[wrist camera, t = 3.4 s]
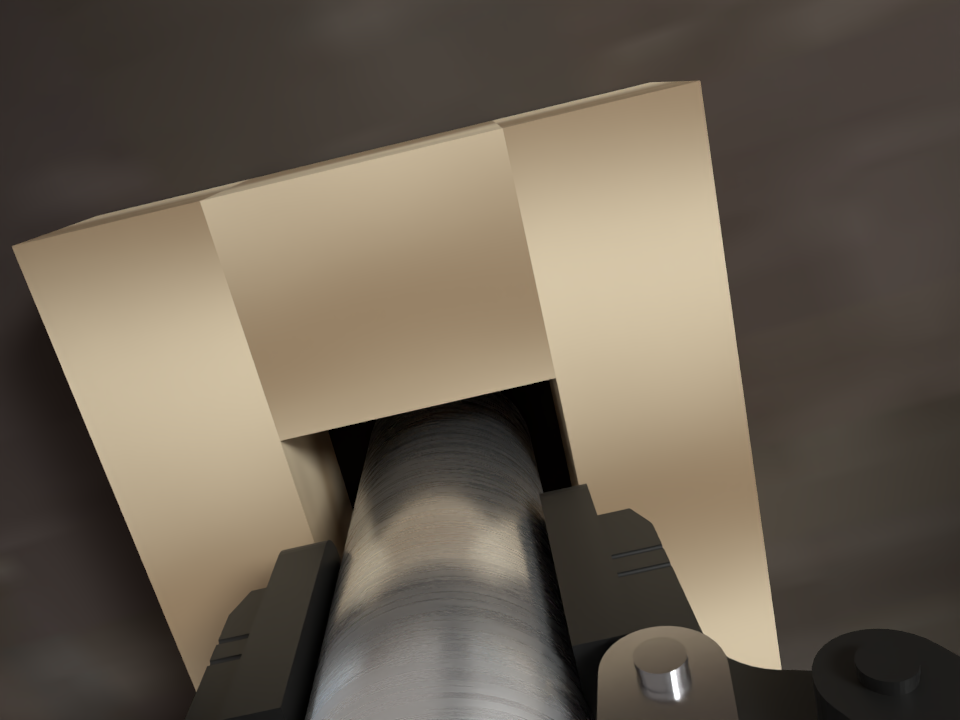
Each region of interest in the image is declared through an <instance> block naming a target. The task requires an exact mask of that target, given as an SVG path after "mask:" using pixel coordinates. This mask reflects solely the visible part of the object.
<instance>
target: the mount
mask: <svg viewBox="0 0 960 720" xmlns="http://www.w3.org/2000/svg"><path fill="white" fill-rule="evenodd" d="M12 248H13V251H14V253H15V255H16V258H17V260H18V263H19V265H20V268H21V270H22V272H23V275H24V277H25V280H26V282H27V284H28V287H29V289H30V292H31V294H32V297H33V299H34V301H35V304H36V306H37V309H38V311H39V313H40V316H41V318H42V321H43V323H44V325H45V328H46V330H47V333H48V335H49V338H50V340H51V342H52V345H53V347H54V350H55V352H56V354H57V357H58V359H59V362H60V364H61V367H62V369H63V371H64V374H65V376H66V379H67V381H68V383H69V386H70V388H71V391H72V393H73V395H74V398H75V400H76V403H77V405H78V408H79V410H80V412H81V415H82V417H83V420H84V422H85V424H86V427H87V429H88V432H89V434H90V437H91V439H92V441H93V444H94V446H95V449H96V451H97V453H98V456H99V458H100V461H101V463H102V465H103V468H104V470H105V473H106V475H107V478H108V480H109V482H110V485H111V487H112V490H113V492H114V494H115V497H116V499H117V502H118V504H119V507H120V509H121V511H122V514H123V516H124V519H125V521H126V523H127V526H128V528H129V531H130V533H131V536H132V538H133V540H134V543H135V545H136V548H137V550H138V552H139V555H140V557H141V560H142V562H143V564H144V567H145V569H146V572H147V574H148V577H149V579H150V581H151V584H152V586H153V589H154V591H155V593H156V596H157V598H158V601H159V603H160V606H161V608H162V610H163V613H164V615H165V618H166V620H167V622H168V625H169V627H170V630H171V632H172V634H173V637H174V639H175V642H176V644H177V647H178V649H179V651H180V654H181V656H182V659H183V661H184V663H185V666H186V668H187V671H188V673H189V676H190V678H191V680H192V683H193V685H194V688H195V690H196V692H197V689H198V687H199V685H200V682H201V680H202V677H203V675H204V673H205V670H206V668H207V666H210V658H211V656H212V654H213V651H214V649H215V647H216V645H219V641H218V639H219V637H220V635H221V632H222V630H223V628H224V625H225V623H226V620H227V618H228V616H229V614H230V613H231V612H232V611H233V610H234V609H235V608H236V607H237V606H238V605H239V604H240V603H241V601H242V600H243V599H244V598H245V597H246V596H247V595H248V594H249V593H250V592H251V591H253V590H257V589H262V588H266V587H267V585H268V582H269V580H270V577H271V574H272V571H273V569H274V566H275V563H276V561H277V558H278V555H279V553H280V552H281V551H282V550H286V549H290V548H295V547H299V546H304V545H308V544H313V543H317V542H322V541H326V540H331V541H332V542H333V543H334V545H335V546H336V548H337V551H338V553H339V556H340V559H341V561H342V557H343V553H344V548H345V544H346V540H347V535H348V531H349V527H350V522H351V518H352V514H353V509H352V506H351V502H350V499H349V496H348V493H347V490H346V486H345V483H344V480H343V477H342V474H341V470H340V467H339V464H338V461H337V458H336V455H335V451H334V448H333V445H332V442H331V439H330V435H329V432H328V430H330V429H334V428H339V427H343V426H347V425H352V424H356V423H361V422H365V421H369V420H374V419H378V418H383V417H387V416H391V415H396V414H400V413H405V412H409V411H413V410H418V409H422V408H426V407H431V406H435V405H440V404H444V403H448V402H453V401H457V400H462V399H466V398H470V397H475V396H479V395H484V394H488V393H492V392H497V391H501V390H506V389H510V388H514V387H519V386H523V385H527V384H532V383H536V382H541V381H545V380H549V383H550V388H551V392H552V397H553V402H554V406H555V411H556V416H557V420H558V425H559V429H560V434H561V439H562V443H563V448H564V452H565V457H566V462H567V466H568V471H569V475H570V480H571V485H572V486H577V485H581V484H587V486H588V489H589V492H590V495H591V498H592V501H593V503H594V506H595V509H596V512H597V515H601V514H605V513H610V512H615V511H619V510H624V509H628V508H630V509H632V510H633V511H635V512H636V513H638V514H639V515H641V516H642V517H644V518H645V519H647V520H648V521H650V522H651V523H652V524H653V526H654V528H655V530H656V532H657V534H658V537H659V539H660V541H661V543H662V547H663V548H664V550H665V552H666V554H667V556H668V558H669V561H670V564H671V566H672V567H673V569H674V571H675V574H676V576H677V578H678V580H679V582H680V584H681V587H682V589H683V591H684V593H685V595H686V597H687V600H688V602H689V604H690V606H691V608H692V610H693V613H694V615H695V617H696V619H697V621H698V624H699V626H700V628H701V630H702V632H703V634H705V635H707V636H708V637H710V638H711V639H713V640H714V641H715V642H716V643H717V644H718V645H719V646H720V647H721V648H722V650H723V651H724V653H725V654H726V656H727V657H729V658H731V659H733V660H736V661H738V662H740V663H743V664H747V665H750V666H754V667H759V668H764V669H776V670H781V663H780V656H779V648H778V641H777V634H776V627H775V619H774V612H773V605H772V598H771V590H770V583H769V576H768V569H767V561H766V554H765V547H764V540H763V532H762V525H761V518H760V511H759V503H758V496H757V489H756V482H755V474H754V467H753V460H752V453H751V445H750V438H749V431H748V424H747V416H746V409H745V402H744V395H743V387H742V380H741V373H740V366H739V358H738V351H737V344H736V337H735V329H734V322H733V315H732V308H731V300H730V293H729V286H728V279H727V271H726V264H725V257H724V250H723V242H722V235H721V228H720V221H719V213H718V206H717V199H716V192H715V184H714V177H713V170H712V163H711V155H710V148H709V141H708V134H707V126H706V119H705V112H704V105H703V97H702V90H701V83H700V81H679V82H651V83H646V84H642V85H638V86H634V87H630V88H626V89H622V90H617V91H613V92H609V93H605V94H601V95H597V96H593V97H588V98H584V99H580V100H576V101H572V102H568V103H564V104H559V105H555V106H551V107H547V108H543V109H539V110H534V111H530V112H526V113H522V114H518V115H514V116H510V117H505V118H501V119H497V120H493V121H489V122H485V123H481V124H476V125H472V126H468V127H464V128H460V129H456V130H452V131H447V132H443V133H439V134H435V135H431V136H427V137H422V138H418V139H414V140H410V141H406V142H402V143H398V144H393V145H389V146H385V147H381V148H377V149H373V150H369V151H364V152H360V153H356V154H352V155H348V156H344V157H340V158H335V159H331V160H327V161H323V162H319V163H315V164H310V165H306V166H302V167H298V168H294V169H290V170H286V171H281V172H277V173H273V174H269V175H265V176H261V177H257V178H252V179H248V180H244V181H240V182H236V183H232V184H228V185H223V186H219V187H215V188H211V189H207V190H203V191H199V192H194V193H190V194H186V195H182V196H178V197H174V198H169V199H165V200H161V201H157V202H153V203H149V204H145V205H140V206H136V207H132V208H128V209H124V210H120V211H116V212H111V213H107V214H103V215H99V216H96V217H93V218H90V219H87V220H84V221H82V222H79V223H76V224H73V225H70V226H68V227H65V228H62V229H59V230H56V231H53V232H51V233H48V234H45V235H42V236H39V237H37V238H34V239H31V240H28V241H25V242H23V243H20V244H17V245H14V246H12Z"/></svg>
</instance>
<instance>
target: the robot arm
mask: <svg viewBox="0 0 960 720" xmlns="http://www.w3.org/2000/svg"><path fill="white" fill-rule="evenodd" d="M539 496H540V500H541V505H542V510H543V514H544V519H545V523H546V528H547V533H548V537H549V542H550V547H551V551H552V556H553V561H554V565H555V570H556V575H557V579H558V584H559V589H560V593H561V598H562V602H563V607H564V612H565V616H566V621H567V626H568V630H569V635H570V640H571V644H572V649H573V653H574V657H575V662H576V666H577V670H578V675H579V679H580V683H581V688H582V692H583V696H584V699H585V701H586V703H587V705H588V707H589V709H590V711H591V713H592V715H593V719H594V720H960V657H959V656H958V655H956V654H954V653H952V652H950V651H949V650H947V649H945V648H943V647H942V646H940V645H938V644H936V643H934V642H932V641H930V640H928V639H926V638H923V637H920V636H917V635H915V634H911V633H907V632H903V631H896V630H889V629H867V630H859V631H854V632H850V633H847V634H844V635H841V636H839V637H837V638H835V639H832V640H831V641H830V642H828V643H827V644H825V645H824V646H823V647H822V648H821V649H820V650H819V652H818V653H817V655H816V657H815V658H814V662H813V665H812V671H803V670H776V669H764V668H759V667H754V666H750V665H747V664H743V663H740V662H738V661H736V660H733V659H731V658H729V657H727V656H726V654H725V653H724V651H723V650H722V648H721V647H720V646H719V645H718V644H717V643H716V642H715V641H714V640H713V639H711V638H710V637H708V636H707V635H705V634H703V632H702V630H701V628H700V626H699V624H698V621H697V619H696V617H695V615H694V613H693V610H692V608H691V606H690V604H689V602H688V600H687V597H686V595H685V593H684V591H683V589H682V587H681V584H680V582H679V580H678V578H677V576H676V574H675V571H674V569H673V567H672V566H671V564H670V561H669V558H668V556H667V554H666V552H665V550H664V548H663V547H662V543H661V541H660V539H659V537H658V534H657V532H656V530H655V528H654V526H653V524H652V523H651V522H650V521H648V520H647V519H645V518H644V517H642V516H641V515H639V514H638V513H636V512H635V511H633V510H632V509H630V508H628V509H624V510H619V511H615V512H610V513H605V514H601V515H597V512H596V509H595V506H594V503H593V501H592V498H591V495H590V492H589V489H588V486H587V484H581V485H577V486H572V487H568V488H563V489H559V490H554V491H550V492H545V493H540V494H539ZM340 566H341V559H340V556H339V553H338V551H337V548H336V546H335V545H334V543H333V542H332V541H331V540H326V541H322V542H317V543H313V544H308V545H304V546H299V547H295V548H290V549H286V550H282V551H281V552H280V553H279V555H278V558H277V561H276V563H275V566H274V569H273V571H272V574H271V577H270V580H269V582H268V585H267V587H266V588H262V589H257V590H253V591H251V592H250V593H249V594H248V595H247V596H246V597H245V598H244V599H243V600H242V601H241V603H240V604H239V605H238V606H237V607H236V608H235V609H234V610H233V611H232V612H231V613H230V614H229V616H228V618H227V620H226V623H225V625H224V628H223V630H222V632H221V635H220V637H219V639H218V641H219V645H216V647H215V649H214V651H213V654H212V656H211V658H210V666H207V668H206V670H205V673H204V675H203V677H202V680H201V682H200V685H199V687H198V689H197V692H196V694H195V696H194V699H193V701H192V704H191V706H190V708H189V711H188V713H187V715H186V718H185V720H305V716H306V712H307V708H308V704H309V699H310V695H311V691H312V686H313V682H314V678H315V673H316V669H317V665H318V660H319V656H320V652H321V647H322V643H323V639H324V635H325V630H326V626H327V622H328V617H329V613H330V609H331V604H332V600H333V596H334V591H335V587H336V583H337V579H338V574H339V570H340Z"/></svg>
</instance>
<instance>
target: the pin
mask: <svg viewBox="0 0 960 720" xmlns="http://www.w3.org/2000/svg"><path fill="white" fill-rule="evenodd" d="M540 493H543V490H542V485H541V481H540V476H539V472H538V468H537V463H536V459H535V454H534V450H533V446H532V441H531V437H530V433H529V430H528V427H527V424H526V422H525V420H524V418H523V416H522V415H521V413H520V411H519V410H518V408H517V407H516V406H515V405H514V404H513V403H512V402H511V400H509V399H508V398H507V397H506V396H505V395H504V394H502V393H501V392H499V391H497V392H492V393H488V394H484V395H479V396H475V397H470V398H466V399H462V400H457V401H453V402H448V403H444V404H440V405H435V406H431V407H426V408H422V409H418V410H413V411H409V412H405V413H400V414H396V415H391V416H387V417H383V418H378V419H377V420H376V422H375V424H374V427H373V429H372V432H371V436H370V441H369V445H368V449H367V453H366V458H365V462H364V466H363V471H362V475H361V479H360V484H359V488H358V492H357V497H356V501H355V505H354V510H353V514H352V518H351V522H350V527H349V531H348V535H347V540H346V544H345V548H344V553H343V557H342V561H341V566H340V570H339V574H338V579H337V583H336V587H335V591H334V596H333V600H332V604H331V609H330V613H329V617H328V622H327V626H326V630H325V635H324V639H323V643H322V647H321V652H320V656H319V660H318V665H317V669H316V673H315V678H314V682H313V686H312V691H311V695H310V699H309V704H308V708H307V712H306V716H305V720H594V719H593V715H592V713H591V711H590V709H589V707H588V705H587V703H586V701H585V699H584V696H583V692H582V688H581V683H580V679H579V675H578V670H577V666H576V662H575V657H574V653H573V649H572V644H571V640H570V635H569V630H568V626H567V621H566V616H565V612H564V607H563V602H562V598H561V593H560V589H559V584H558V579H557V575H556V570H555V565H554V561H553V556H552V551H551V547H550V542H549V537H548V533H547V528H546V523H545V519H544V514H543V510H542V505H541V500H540V496H539V494H540Z"/></svg>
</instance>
